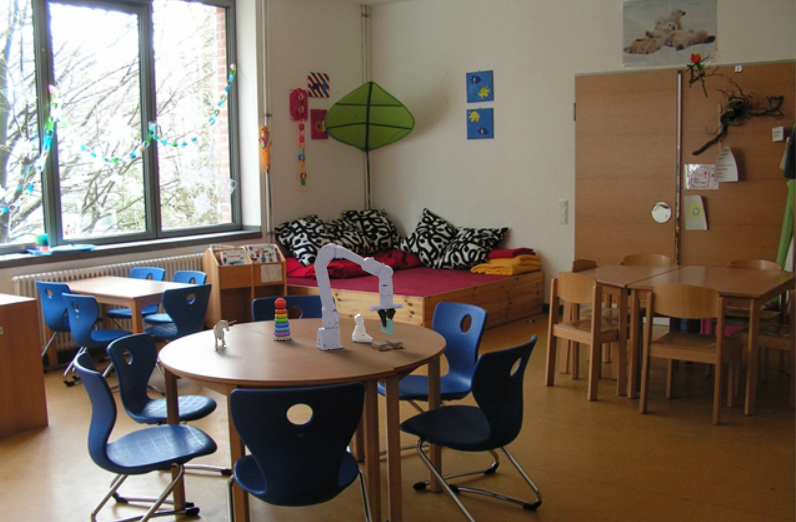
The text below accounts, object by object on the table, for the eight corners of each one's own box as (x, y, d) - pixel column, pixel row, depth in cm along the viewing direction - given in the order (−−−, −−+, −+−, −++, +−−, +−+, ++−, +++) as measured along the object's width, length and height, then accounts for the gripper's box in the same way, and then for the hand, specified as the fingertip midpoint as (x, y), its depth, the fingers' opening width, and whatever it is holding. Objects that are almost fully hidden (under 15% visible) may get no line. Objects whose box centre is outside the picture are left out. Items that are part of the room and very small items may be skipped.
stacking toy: (293, 337, 342) (291, 296, 340) (289, 341, 334) (287, 299, 332) (276, 337, 343) (274, 296, 341) (271, 341, 335) (269, 299, 333)
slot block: (378, 350, 312) (378, 344, 312) (371, 347, 318) (371, 341, 318) (403, 347, 317) (402, 341, 317) (395, 344, 323) (395, 338, 323)
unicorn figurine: (221, 354, 313) (219, 322, 311) (205, 346, 329) (203, 315, 327) (237, 351, 316) (236, 320, 315) (221, 343, 333) (219, 313, 331)
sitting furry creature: (373, 342, 329) (373, 315, 327) (354, 344, 326) (353, 316, 325) (368, 338, 338) (367, 311, 336) (349, 339, 335) (348, 313, 334)
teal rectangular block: (390, 335, 313) (389, 320, 312) (380, 331, 321) (380, 317, 320) (393, 334, 313) (393, 320, 313) (384, 330, 321) (383, 317, 321)
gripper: (374, 297, 308) (375, 330, 310) (405, 294, 315) (406, 326, 316) (367, 295, 315) (368, 327, 316) (398, 292, 321) (399, 323, 323)
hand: (386, 326), depth 317 cm, fingers closed on teal rectangular block, 2 cm apart
